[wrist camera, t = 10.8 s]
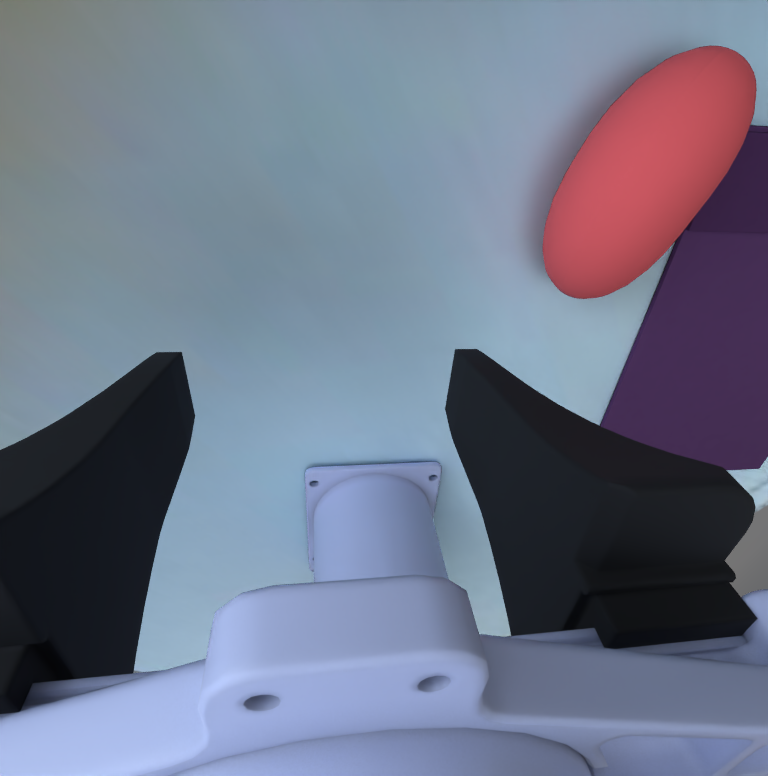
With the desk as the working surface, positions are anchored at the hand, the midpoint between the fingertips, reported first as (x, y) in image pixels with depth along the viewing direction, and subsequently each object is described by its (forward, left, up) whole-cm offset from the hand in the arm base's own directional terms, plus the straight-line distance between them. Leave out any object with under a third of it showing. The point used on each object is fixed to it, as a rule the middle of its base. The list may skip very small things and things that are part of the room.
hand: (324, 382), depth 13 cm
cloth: (-4, -23, -9) cm, 25 cm away
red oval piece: (+4, -12, -10) cm, 16 cm away
